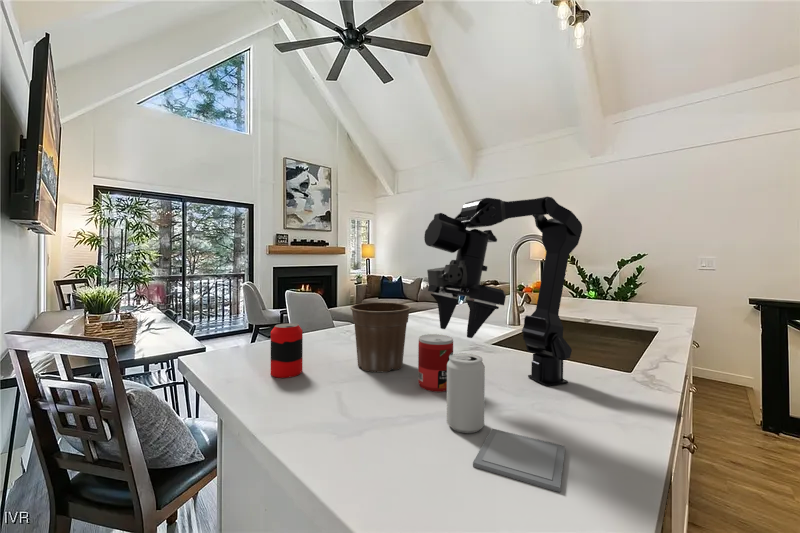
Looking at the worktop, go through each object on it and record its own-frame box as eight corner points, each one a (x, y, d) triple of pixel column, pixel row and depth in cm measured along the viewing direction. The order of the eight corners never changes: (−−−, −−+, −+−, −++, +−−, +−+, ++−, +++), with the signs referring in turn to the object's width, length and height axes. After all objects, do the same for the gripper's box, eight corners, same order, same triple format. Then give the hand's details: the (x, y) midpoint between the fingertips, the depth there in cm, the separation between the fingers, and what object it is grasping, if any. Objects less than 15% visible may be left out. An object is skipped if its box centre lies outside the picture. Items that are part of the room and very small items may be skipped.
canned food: (444, 395, 73) (444, 343, 73) (411, 387, 78) (412, 338, 77) (458, 384, 80) (458, 336, 80) (427, 377, 84) (427, 332, 84)
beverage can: (484, 437, 56) (485, 363, 56) (445, 433, 57) (445, 361, 57) (483, 419, 62) (484, 353, 62) (447, 416, 63) (448, 351, 63)
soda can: (276, 380, 81) (276, 329, 81) (266, 372, 87) (266, 324, 87) (307, 374, 86) (307, 326, 86) (295, 366, 92) (295, 321, 92)
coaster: (492, 431, 58) (492, 427, 58) (565, 449, 52) (565, 445, 52) (472, 466, 48) (472, 461, 48) (559, 492, 43) (560, 486, 43)
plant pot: (411, 376, 85) (411, 310, 85) (345, 375, 85) (345, 310, 85) (410, 357, 101) (410, 302, 101) (354, 356, 101) (355, 302, 101)
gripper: (415, 249, 76) (400, 319, 75) (467, 247, 60) (449, 337, 58) (455, 261, 81) (442, 327, 80) (514, 262, 65) (498, 345, 63)
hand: (455, 333), depth 70 cm, fingers open, 9 cm apart
